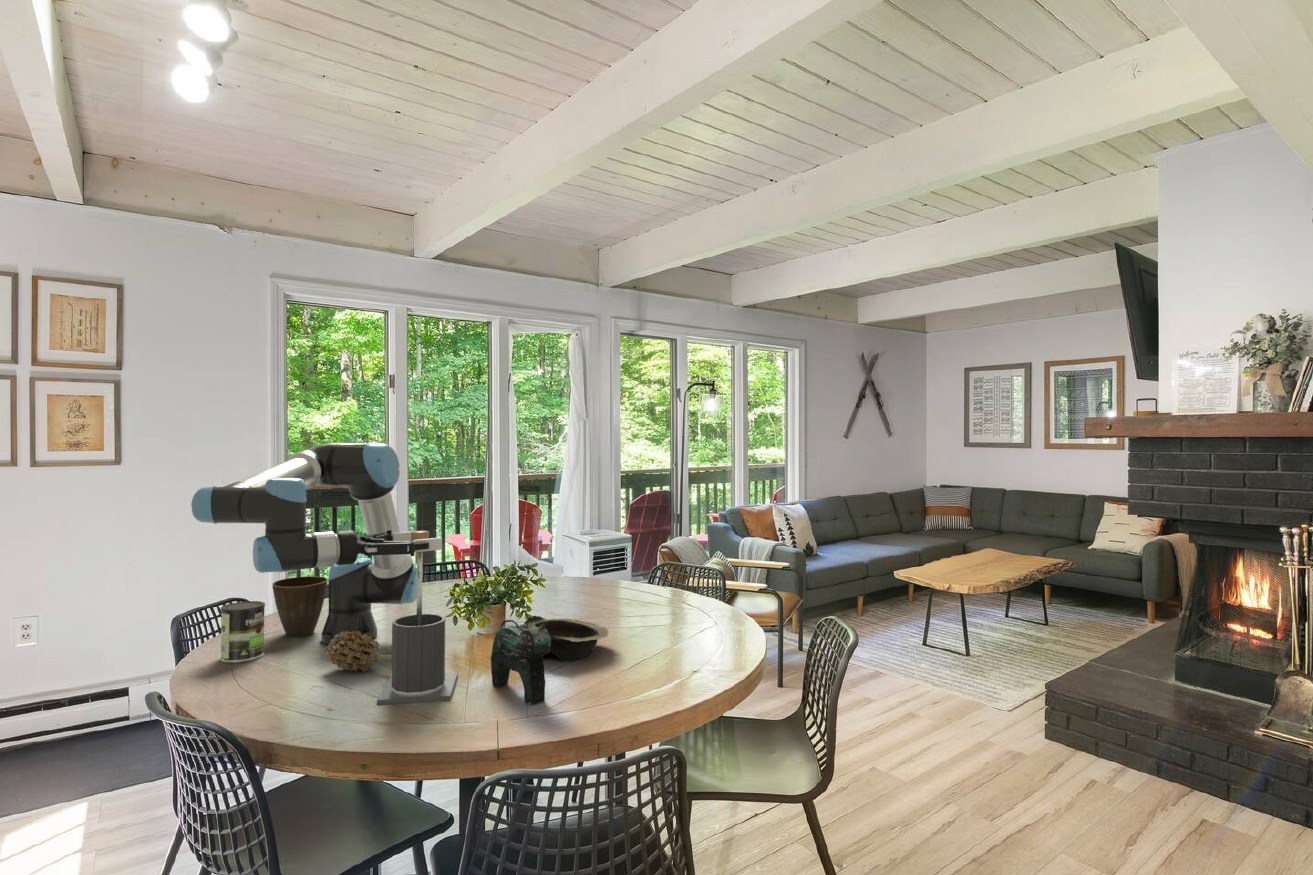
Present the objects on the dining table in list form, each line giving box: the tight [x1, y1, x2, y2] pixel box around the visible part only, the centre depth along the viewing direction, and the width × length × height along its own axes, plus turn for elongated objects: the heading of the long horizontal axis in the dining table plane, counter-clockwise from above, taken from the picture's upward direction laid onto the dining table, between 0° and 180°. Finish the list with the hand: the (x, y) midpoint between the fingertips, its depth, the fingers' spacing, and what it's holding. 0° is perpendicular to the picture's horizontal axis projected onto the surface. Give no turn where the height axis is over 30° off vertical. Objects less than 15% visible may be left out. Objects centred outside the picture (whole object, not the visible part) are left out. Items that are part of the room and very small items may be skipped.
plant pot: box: [271, 575, 328, 638], centre depth 209 cm, size 15×15×16 cm
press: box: [376, 613, 459, 705], centre depth 164 cm, size 16×16×17 cm
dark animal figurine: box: [490, 610, 551, 706], centre depth 162 cm, size 20×6×20 cm, turn 44°
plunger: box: [410, 530, 430, 626], centre depth 162 cm, size 9×9×27 cm
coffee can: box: [220, 600, 266, 664], centre depth 186 cm, size 10×10×14 cm
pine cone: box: [326, 631, 392, 672], centre depth 176 cm, size 22×10×10 cm, turn 84°
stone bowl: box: [518, 615, 610, 662], centre depth 193 cm, size 25×25×9 cm
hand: (430, 539), depth 164 cm, fingers open, 13 cm apart
